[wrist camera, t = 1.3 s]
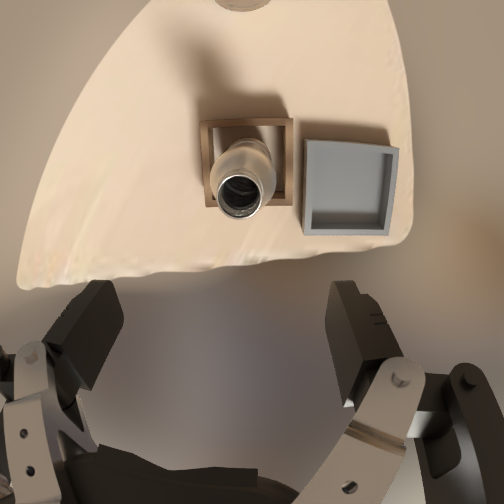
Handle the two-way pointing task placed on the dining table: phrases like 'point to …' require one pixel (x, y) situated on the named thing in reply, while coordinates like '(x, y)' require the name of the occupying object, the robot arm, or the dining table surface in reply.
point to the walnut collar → (207, 126)
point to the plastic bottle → (243, 178)
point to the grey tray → (348, 187)
